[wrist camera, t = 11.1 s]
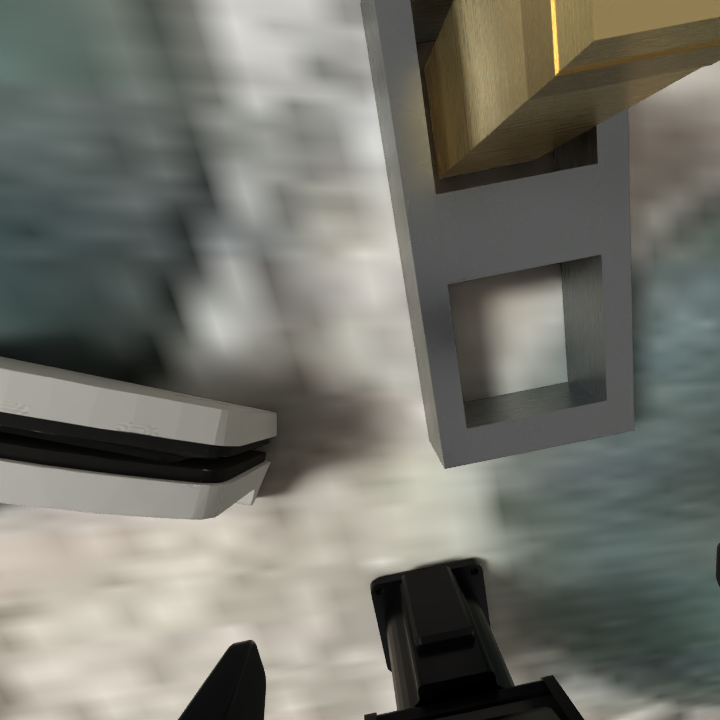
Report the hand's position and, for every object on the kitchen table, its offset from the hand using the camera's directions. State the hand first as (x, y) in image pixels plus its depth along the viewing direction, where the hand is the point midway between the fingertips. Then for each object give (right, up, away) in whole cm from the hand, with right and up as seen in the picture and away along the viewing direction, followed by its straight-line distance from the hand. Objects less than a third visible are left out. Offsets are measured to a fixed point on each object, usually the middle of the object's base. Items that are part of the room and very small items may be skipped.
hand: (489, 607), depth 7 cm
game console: (-15, +3, +12) cm, 19 cm away
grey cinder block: (+4, +11, +11) cm, 16 cm away
